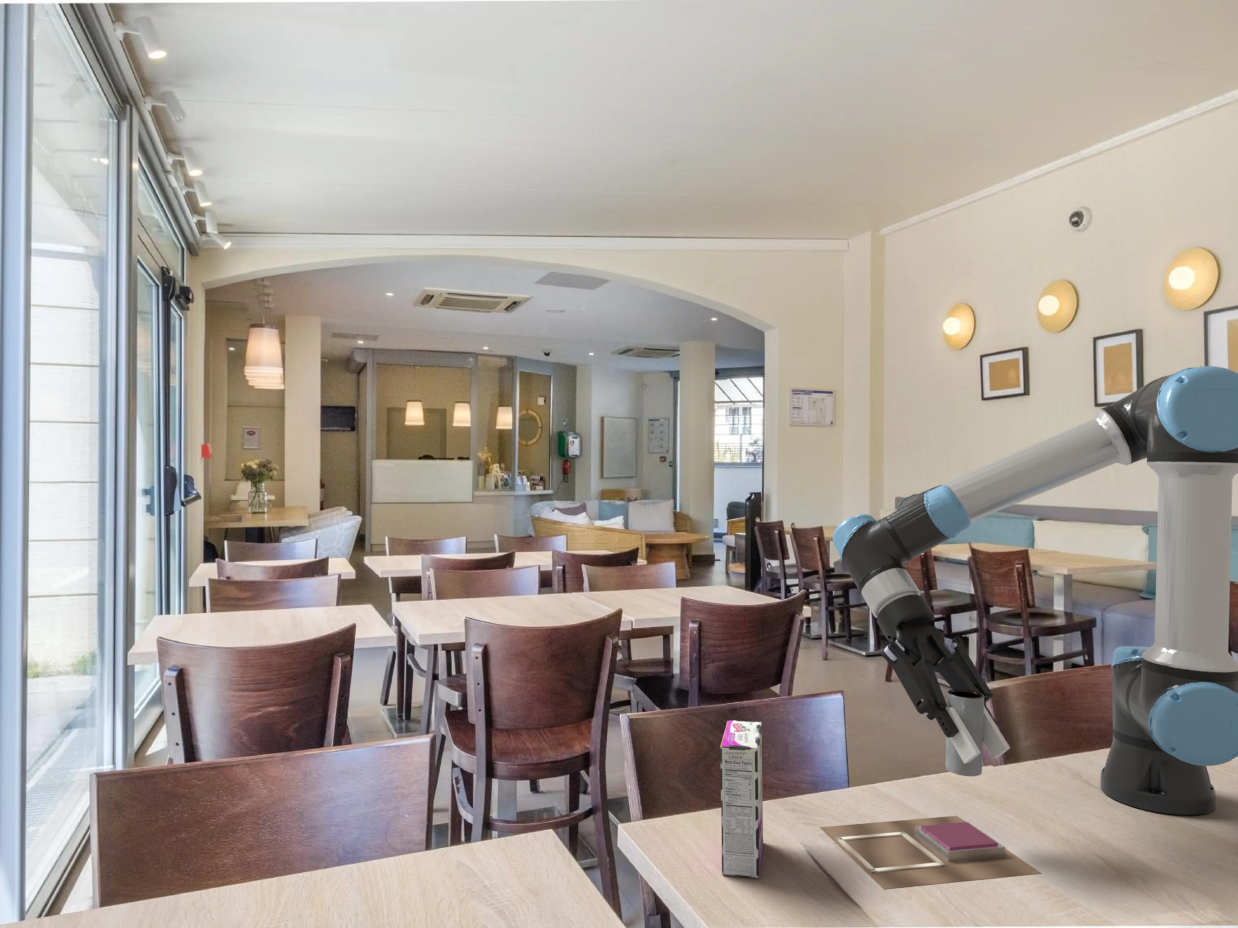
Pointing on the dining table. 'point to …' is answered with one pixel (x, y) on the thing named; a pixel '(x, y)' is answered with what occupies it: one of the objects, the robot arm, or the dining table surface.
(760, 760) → the candy bar box
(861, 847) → the walnut board
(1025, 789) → the dining table surface
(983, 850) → the ink pad
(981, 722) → the gray cylinder
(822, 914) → the dining table surface
